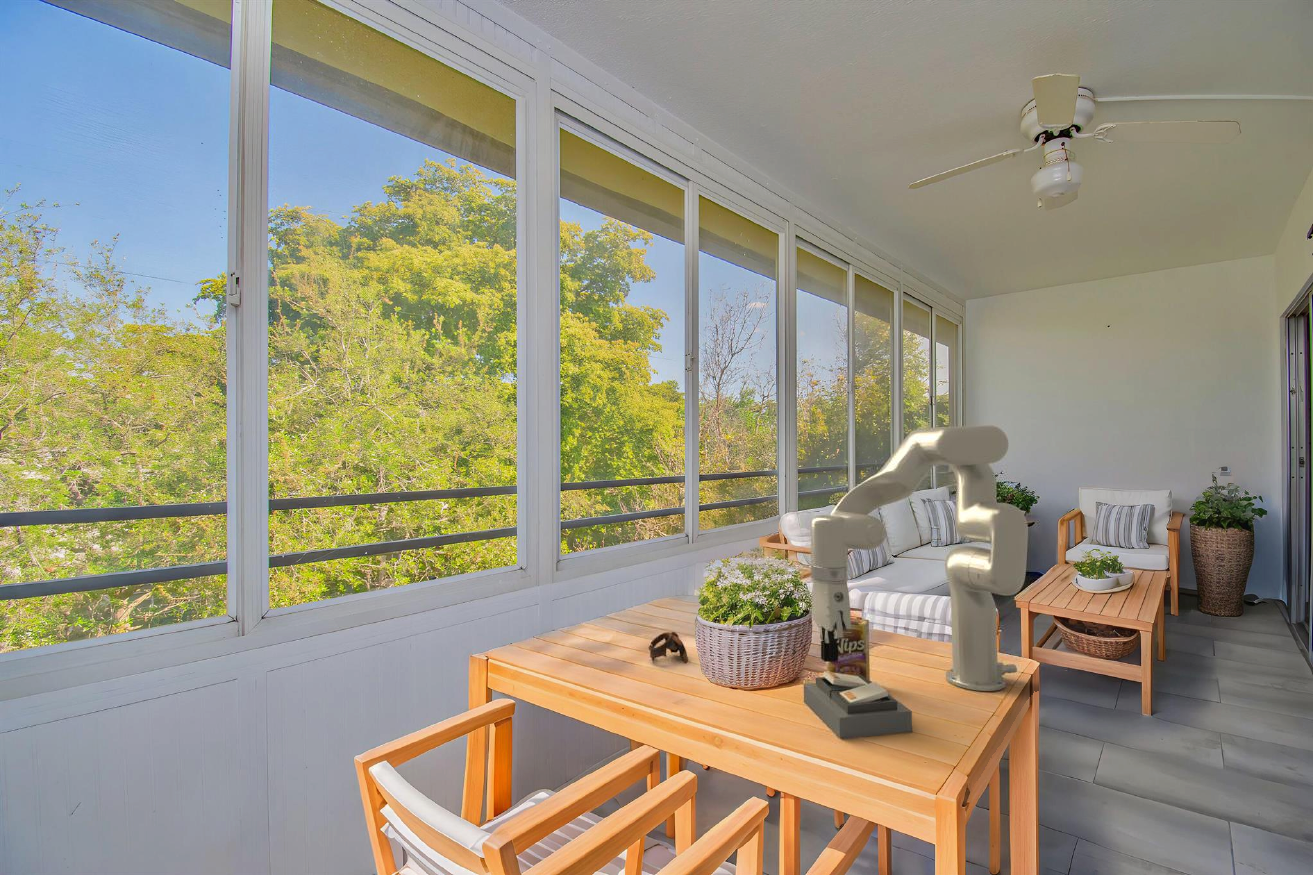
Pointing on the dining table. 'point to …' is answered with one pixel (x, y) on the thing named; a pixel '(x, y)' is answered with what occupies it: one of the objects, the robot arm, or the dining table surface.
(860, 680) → the rocker
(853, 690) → the rocker
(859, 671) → the candy box
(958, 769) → the dining table surface
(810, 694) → the switch panel
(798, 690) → the dining table surface
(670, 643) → the dark brown arched loop
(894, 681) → the dining table surface
